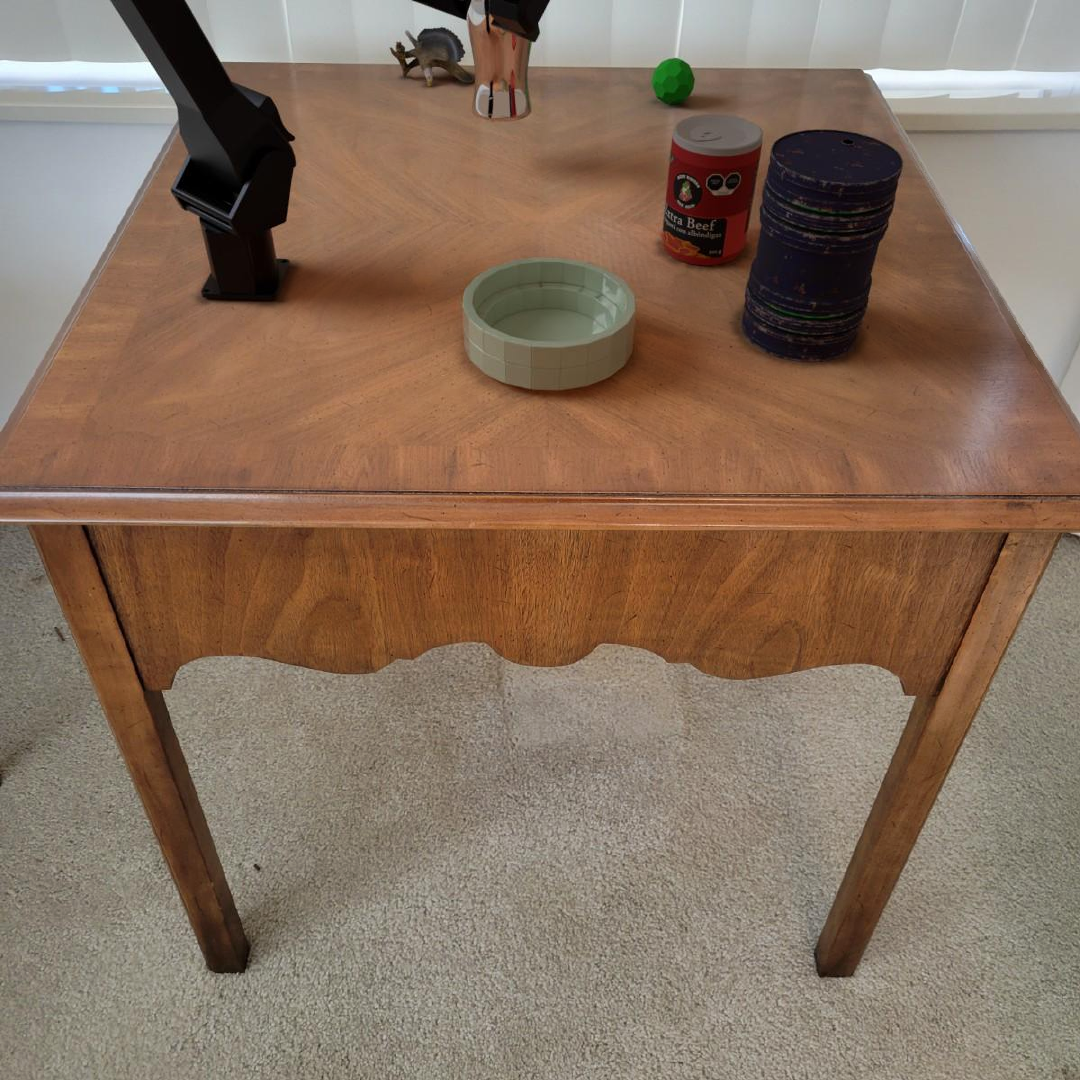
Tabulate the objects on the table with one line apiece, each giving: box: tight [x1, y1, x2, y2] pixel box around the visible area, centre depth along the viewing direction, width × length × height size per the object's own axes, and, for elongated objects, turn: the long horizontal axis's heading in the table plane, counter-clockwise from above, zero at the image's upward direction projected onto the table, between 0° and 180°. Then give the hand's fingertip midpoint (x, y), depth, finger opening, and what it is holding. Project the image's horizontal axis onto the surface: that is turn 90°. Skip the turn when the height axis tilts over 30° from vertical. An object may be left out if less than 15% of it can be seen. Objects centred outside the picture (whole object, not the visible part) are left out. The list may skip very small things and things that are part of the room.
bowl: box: [461, 256, 637, 391], centre depth 82 cm, size 14×14×4 cm
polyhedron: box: [651, 57, 696, 106], centre depth 120 cm, size 5×5×5 cm
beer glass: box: [465, 0, 533, 123], centre depth 100 cm, size 7×7×15 cm
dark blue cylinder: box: [740, 128, 904, 363], centre depth 81 cm, size 10×10×15 cm
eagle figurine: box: [389, 26, 475, 87], centre depth 124 cm, size 8×7×9 cm
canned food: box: [661, 113, 764, 266], centre depth 92 cm, size 8×8×11 cm
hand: (509, 29), depth 100 cm, fingers closed on beer glass, 7 cm apart
